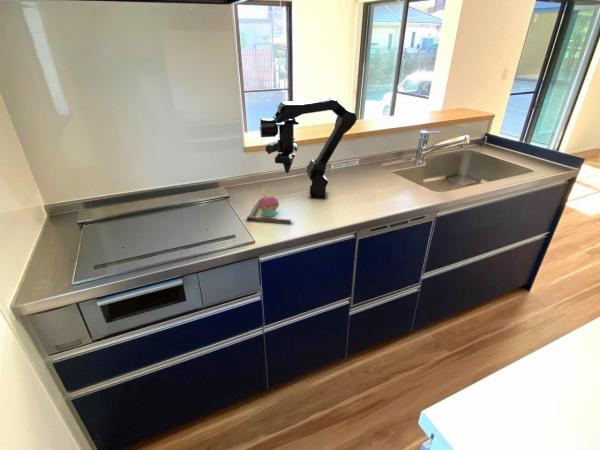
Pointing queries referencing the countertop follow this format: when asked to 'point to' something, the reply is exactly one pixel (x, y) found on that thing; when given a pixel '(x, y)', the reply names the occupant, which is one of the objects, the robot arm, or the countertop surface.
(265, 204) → the cupcake
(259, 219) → the corner guide
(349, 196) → the countertop surface
